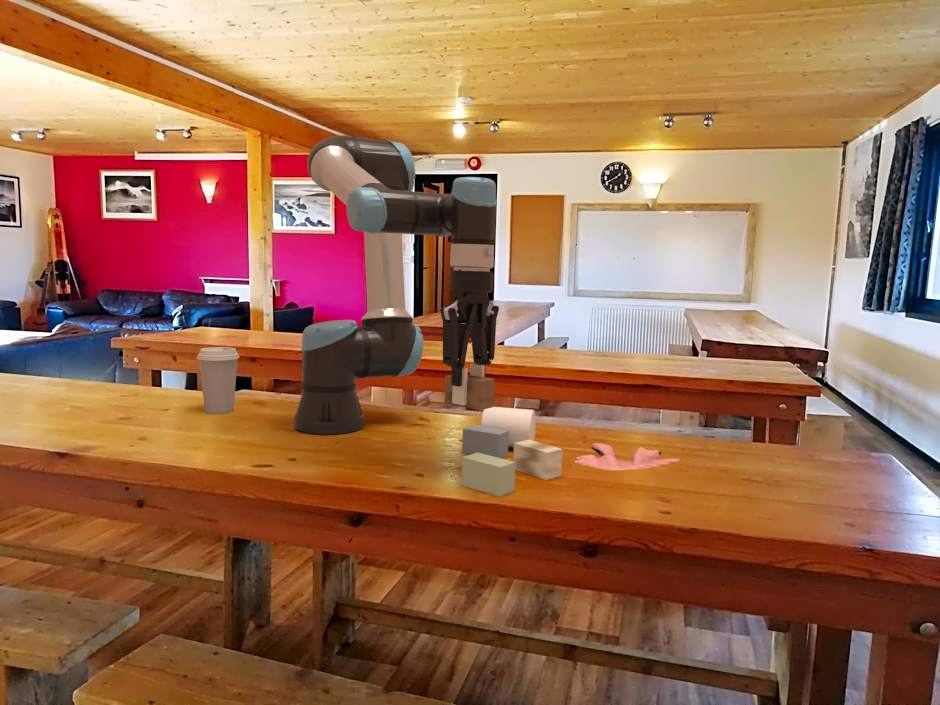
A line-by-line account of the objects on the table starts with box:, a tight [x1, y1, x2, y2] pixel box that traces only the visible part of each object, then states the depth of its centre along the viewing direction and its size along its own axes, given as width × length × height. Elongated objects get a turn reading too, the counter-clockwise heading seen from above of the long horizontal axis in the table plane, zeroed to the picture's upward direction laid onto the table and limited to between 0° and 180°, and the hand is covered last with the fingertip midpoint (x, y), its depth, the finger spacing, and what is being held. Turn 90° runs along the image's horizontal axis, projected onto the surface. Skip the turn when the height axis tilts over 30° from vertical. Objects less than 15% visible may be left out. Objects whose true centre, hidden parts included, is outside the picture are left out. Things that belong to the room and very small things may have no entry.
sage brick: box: [461, 452, 516, 498], centre depth 112 cm, size 8×4×5 cm, turn 51°
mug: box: [480, 406, 537, 449], centre depth 140 cm, size 12×10×8 cm
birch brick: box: [512, 440, 563, 481], centre depth 122 cm, size 8×4×5 cm, turn 42°
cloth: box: [574, 442, 681, 471], centre depth 134 cm, size 20×22×2 cm
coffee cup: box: [196, 346, 240, 415], centre depth 162 cm, size 10×10×15 cm
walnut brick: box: [444, 374, 496, 411], centre depth 120 cm, size 8×4×5 cm, turn 52°
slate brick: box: [461, 424, 509, 459], centre depth 133 cm, size 8×4×5 cm, turn 61°
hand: (467, 401), depth 121 cm, fingers closed on walnut brick, 4 cm apart
